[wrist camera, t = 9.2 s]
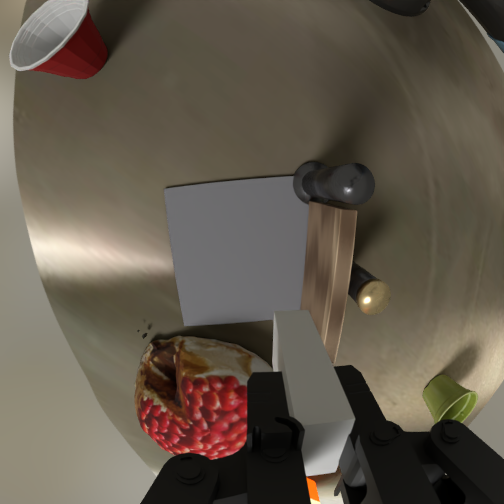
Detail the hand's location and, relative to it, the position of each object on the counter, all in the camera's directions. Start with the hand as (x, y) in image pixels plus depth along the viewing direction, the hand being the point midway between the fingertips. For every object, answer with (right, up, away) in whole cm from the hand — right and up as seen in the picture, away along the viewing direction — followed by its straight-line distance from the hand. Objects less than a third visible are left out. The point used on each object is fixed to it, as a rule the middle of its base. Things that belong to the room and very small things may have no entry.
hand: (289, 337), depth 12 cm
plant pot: (+32, -21, +28) cm, 48 cm away
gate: (+5, +3, +21) cm, 21 cm away
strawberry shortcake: (-9, -17, +26) cm, 32 cm away
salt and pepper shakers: (+7, +7, +20) cm, 23 cm away
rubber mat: (-2, +4, +21) cm, 21 cm away
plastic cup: (-23, +30, +15) cm, 40 cm away
